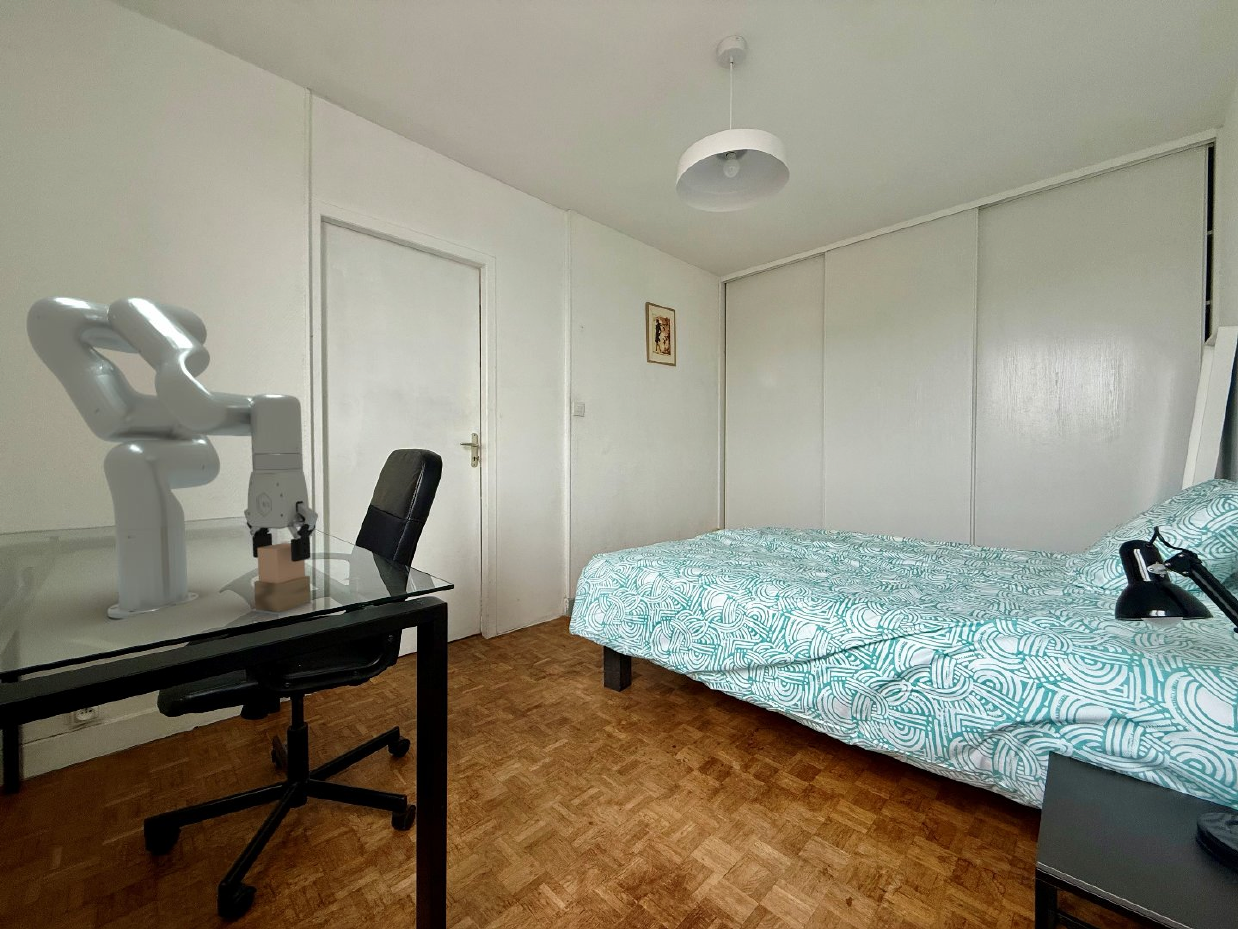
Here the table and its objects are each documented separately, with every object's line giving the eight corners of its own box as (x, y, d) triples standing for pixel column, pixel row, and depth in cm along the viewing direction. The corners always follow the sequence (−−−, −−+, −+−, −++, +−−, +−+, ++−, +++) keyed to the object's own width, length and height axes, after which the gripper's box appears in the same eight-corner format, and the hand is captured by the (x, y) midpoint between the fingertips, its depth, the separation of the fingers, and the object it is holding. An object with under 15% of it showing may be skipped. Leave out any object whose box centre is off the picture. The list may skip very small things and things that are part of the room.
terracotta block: (258, 581, 90) (257, 547, 89) (286, 574, 94) (284, 542, 94) (278, 583, 88) (277, 549, 87) (305, 576, 92) (303, 544, 92)
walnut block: (255, 609, 89) (254, 581, 89) (287, 599, 95) (286, 573, 95) (279, 613, 87) (277, 584, 87) (310, 602, 93) (309, 576, 93)
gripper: (223, 464, 90) (227, 559, 90) (292, 465, 84) (296, 566, 84) (265, 462, 97) (269, 550, 97) (332, 463, 91) (335, 557, 91)
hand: (281, 558), depth 91 cm, fingers open, 9 cm apart
